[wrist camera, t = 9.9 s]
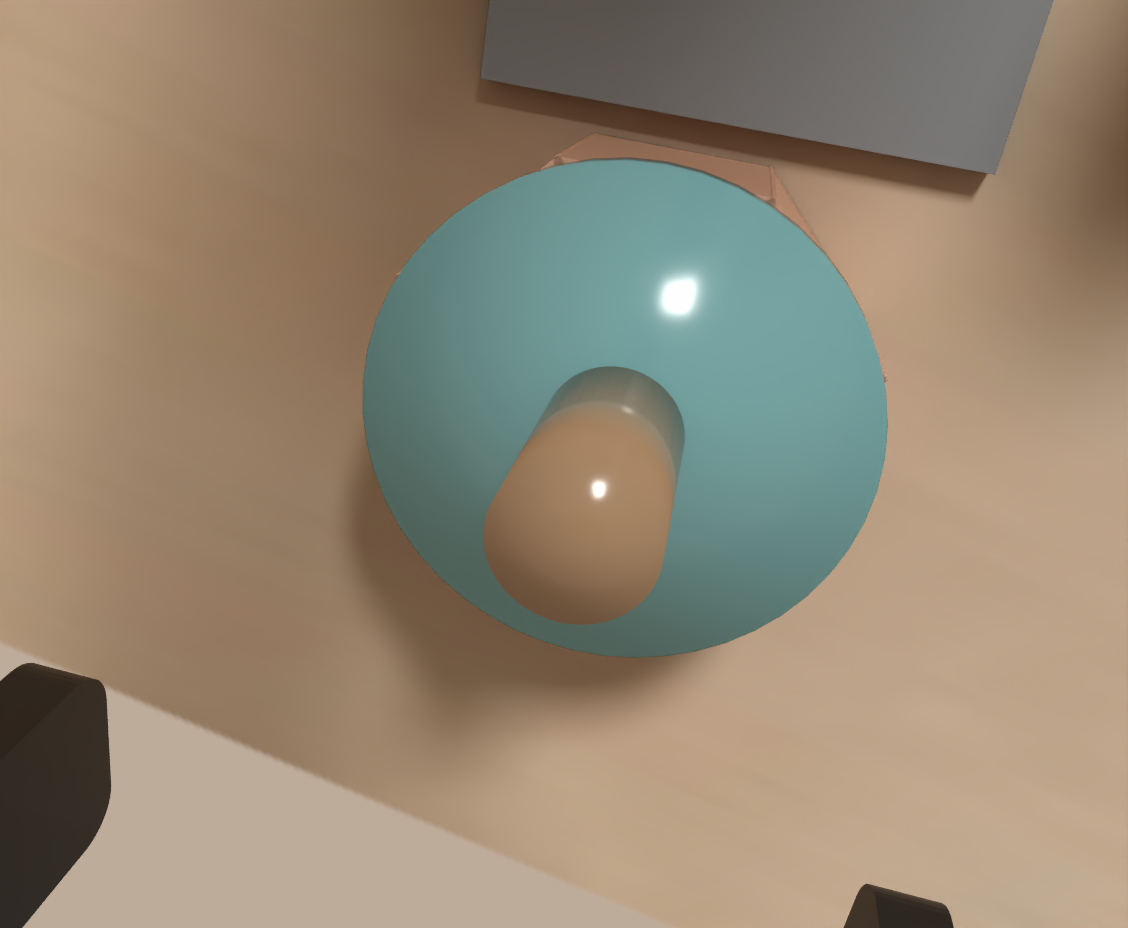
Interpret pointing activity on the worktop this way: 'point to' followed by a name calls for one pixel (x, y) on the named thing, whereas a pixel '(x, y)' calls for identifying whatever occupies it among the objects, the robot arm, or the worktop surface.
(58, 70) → the worktop surface
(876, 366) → the lid
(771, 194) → the bowl
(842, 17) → the mat
